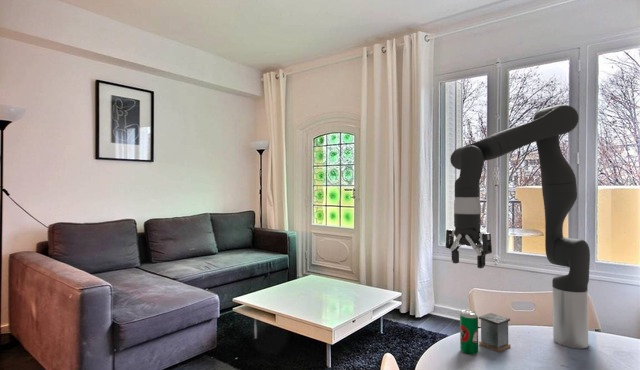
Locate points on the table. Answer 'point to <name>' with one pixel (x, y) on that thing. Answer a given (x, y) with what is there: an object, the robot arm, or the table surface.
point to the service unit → (494, 332)
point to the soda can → (469, 332)
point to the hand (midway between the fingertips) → (467, 265)
